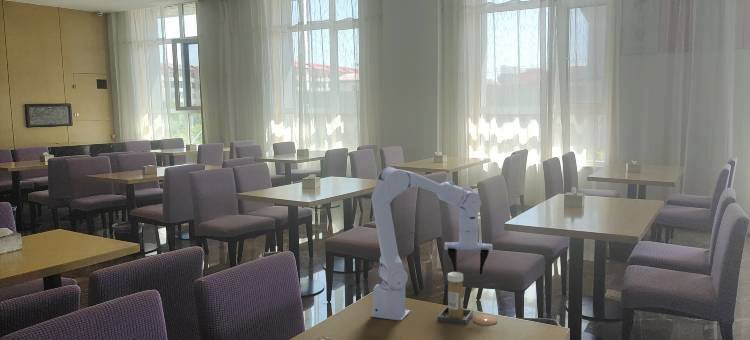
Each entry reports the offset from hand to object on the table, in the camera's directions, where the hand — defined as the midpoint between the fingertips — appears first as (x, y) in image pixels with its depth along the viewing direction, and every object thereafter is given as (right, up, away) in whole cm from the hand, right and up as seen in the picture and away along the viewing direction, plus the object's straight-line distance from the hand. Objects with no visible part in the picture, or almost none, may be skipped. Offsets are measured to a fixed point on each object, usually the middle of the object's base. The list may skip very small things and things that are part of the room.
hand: (468, 272), depth 178 cm
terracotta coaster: (+3, -12, -12) cm, 17 cm away
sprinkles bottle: (-5, -12, -9) cm, 16 cm away
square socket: (-5, -12, -9) cm, 16 cm away
